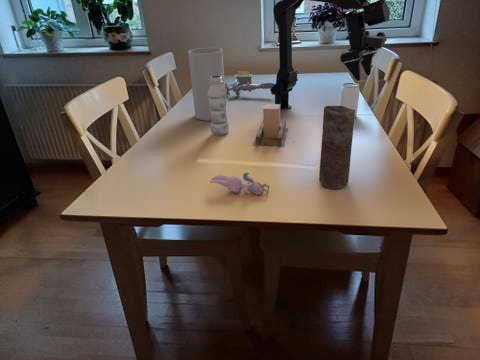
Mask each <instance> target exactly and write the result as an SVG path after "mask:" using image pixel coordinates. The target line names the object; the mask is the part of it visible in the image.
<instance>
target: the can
mask: <svg viewBox="0 0 480 360" xmlns="http://www.w3.org/2000/svg"><path fill="white" fill-rule="evenodd" d="M360 90H361V89H360V84H358V83H354V82H346V83H343V84H342V87H341V92H340V98H339V99H340V100H339V106H344V107H346V108H349V109H354V110H355V118H356V117H357V115H358V114H357V113H358V106H359V100H360V99H359V98H360Z"/></svg>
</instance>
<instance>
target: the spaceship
mask: <svg viewBox="0 0 480 360" xmlns="http://www.w3.org/2000/svg"><path fill="white" fill-rule="evenodd" d="M224 83H225V89H226V92H227V96H230V95H231V93H230V91H232V92H234V93H235V95H236V97H237V98H239V97H240V96H241V91H243V92H245V91H247V92H249V93H250V92H252V91H255V90H257V89H259V90H260V89H262V90H265V89H267V90H268V89H271V88H272V87H273V86H274V85H275V84H276V83H274V82H263V83H260V84H259V83H258V84H257V83H252V84H250V83H247V84H240V83H239V80H236V79H235V81H234V84H233V85H232V87H231V86H229V83H230V82H224Z"/></svg>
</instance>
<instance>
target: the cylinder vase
mask: <svg viewBox="0 0 480 360" xmlns="http://www.w3.org/2000/svg"><path fill="white" fill-rule="evenodd" d="M223 54H224V53H223V49H222V48H220V47H204V48H203V47H200V48H193V49H190V50H188V62H189V63H188V64H189V72H190V80H191V89H192V90H191V91H192V99H193V108H194V109H193V110H194V116H195V118H196V119H197V120H200V121H205V122H206V121H207V122H209V121H210V122H211V109H210V103H209V99H208V90H209V88H210V86H211V83H210V81H211V76H221V77H222V83H221V84H222V85H223V87H224V88H225V83H226V82H225V71H224V69H225V67H224V55H223Z"/></svg>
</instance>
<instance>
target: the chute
mask: <svg viewBox="0 0 480 360" xmlns="http://www.w3.org/2000/svg"><path fill="white" fill-rule="evenodd" d="M286 125H287V120H286V119H282V120H281V122H280V130H279V134H278V137H277V138H263V120H262V121H261V124H260V126H259V128H258V130H257V133H256V135H255V139H254V142H253V144H252V146H254V147H255V146H259V147H275V148H276V147H279V148H281V147H282V148H285V145H286V143H287V142H286V141H287V137H288V132H289V128H288V127H287V126H286ZM286 127H287V128H286Z"/></svg>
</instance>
